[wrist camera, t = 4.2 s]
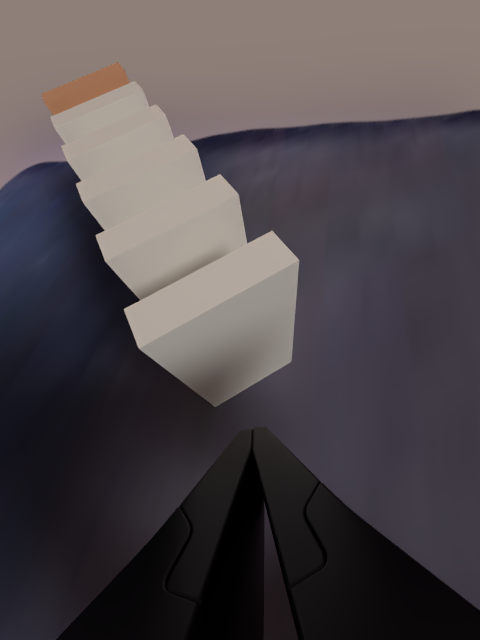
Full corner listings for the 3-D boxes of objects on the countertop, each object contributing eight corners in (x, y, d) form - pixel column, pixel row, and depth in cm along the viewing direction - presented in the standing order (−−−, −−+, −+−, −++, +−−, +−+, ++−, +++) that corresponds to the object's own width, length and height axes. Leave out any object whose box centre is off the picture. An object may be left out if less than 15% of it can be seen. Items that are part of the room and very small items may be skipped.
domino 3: (211, 247, 23) (165, 115, 14) (152, 278, 22) (66, 159, 13) (203, 236, 24) (155, 104, 15) (146, 265, 23) (61, 146, 14)
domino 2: (192, 220, 25) (142, 89, 16) (137, 248, 24) (54, 127, 15) (186, 211, 25) (134, 80, 17) (132, 238, 25) (50, 116, 16)
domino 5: (259, 316, 19) (238, 194, 10) (190, 355, 18) (105, 261, 10) (248, 300, 20) (220, 174, 11) (181, 337, 19) (95, 235, 10)
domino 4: (233, 278, 21) (196, 148, 12) (169, 313, 20) (82, 202, 12) (224, 265, 22) (183, 134, 13) (162, 298, 21) (75, 183, 12)
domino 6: (291, 361, 17) (299, 260, 8) (215, 407, 17) (138, 348, 8) (277, 342, 18) (272, 230, 9) (204, 385, 17) (123, 309, 9)
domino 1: (176, 198, 27) (124, 69, 18) (125, 223, 26) (44, 102, 17) (171, 189, 27) (117, 62, 19) (121, 214, 27) (41, 93, 18)
